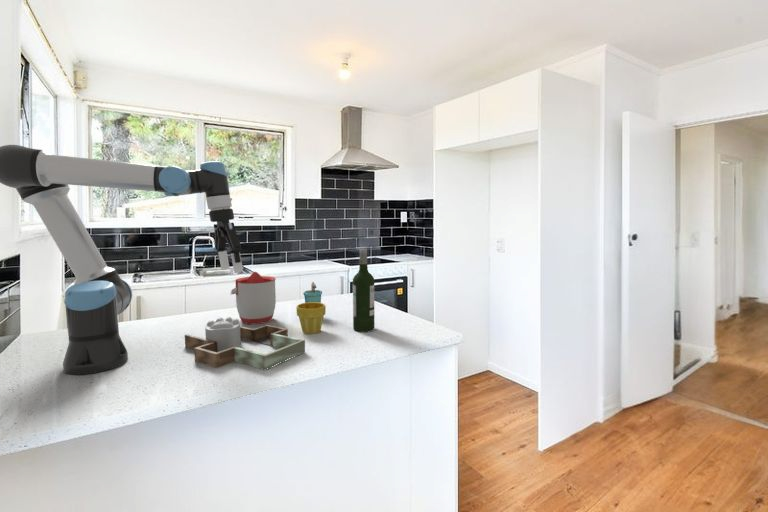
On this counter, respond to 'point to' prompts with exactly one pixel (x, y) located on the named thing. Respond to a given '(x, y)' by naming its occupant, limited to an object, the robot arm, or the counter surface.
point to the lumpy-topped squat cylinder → (224, 333)
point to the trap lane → (264, 335)
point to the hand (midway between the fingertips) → (232, 270)
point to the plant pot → (311, 316)
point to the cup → (312, 294)
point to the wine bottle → (363, 297)
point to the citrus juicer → (255, 298)
